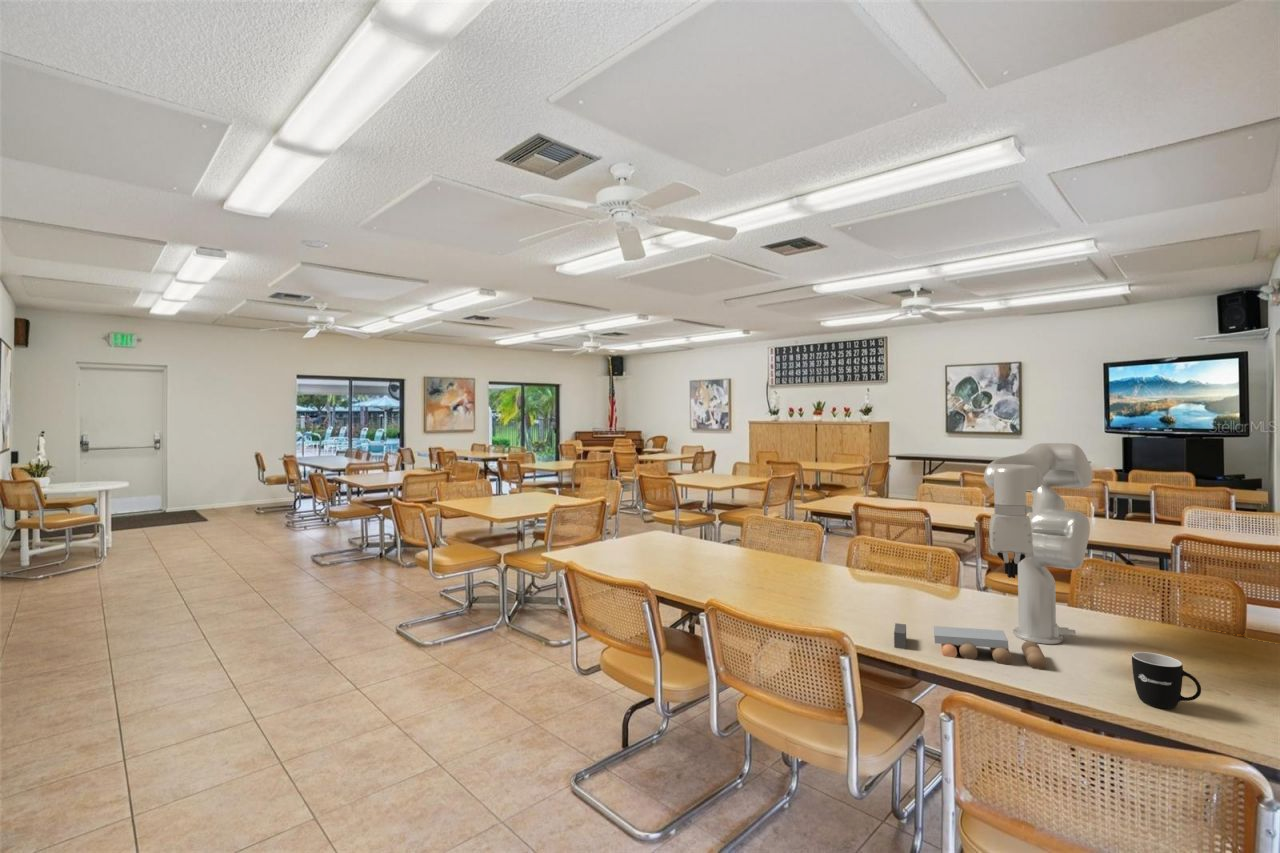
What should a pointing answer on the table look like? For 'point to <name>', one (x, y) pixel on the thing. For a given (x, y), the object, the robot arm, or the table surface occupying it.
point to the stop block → (900, 636)
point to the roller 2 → (968, 651)
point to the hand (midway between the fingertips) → (1011, 576)
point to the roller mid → (1001, 655)
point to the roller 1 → (949, 650)
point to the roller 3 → (1034, 655)
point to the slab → (970, 637)
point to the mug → (1160, 679)
